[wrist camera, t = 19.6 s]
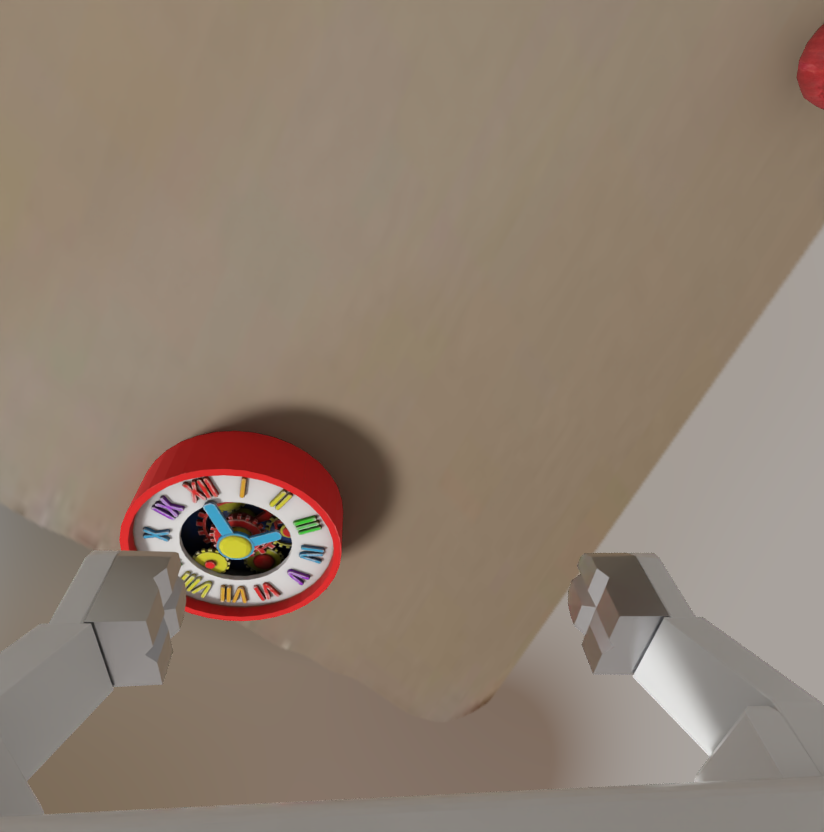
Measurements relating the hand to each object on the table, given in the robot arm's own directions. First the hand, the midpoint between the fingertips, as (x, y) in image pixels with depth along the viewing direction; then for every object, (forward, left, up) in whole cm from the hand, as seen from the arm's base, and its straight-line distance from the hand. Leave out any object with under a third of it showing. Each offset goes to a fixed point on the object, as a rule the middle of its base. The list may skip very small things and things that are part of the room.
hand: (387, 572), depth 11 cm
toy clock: (+14, -30, -36) cm, 48 cm away
